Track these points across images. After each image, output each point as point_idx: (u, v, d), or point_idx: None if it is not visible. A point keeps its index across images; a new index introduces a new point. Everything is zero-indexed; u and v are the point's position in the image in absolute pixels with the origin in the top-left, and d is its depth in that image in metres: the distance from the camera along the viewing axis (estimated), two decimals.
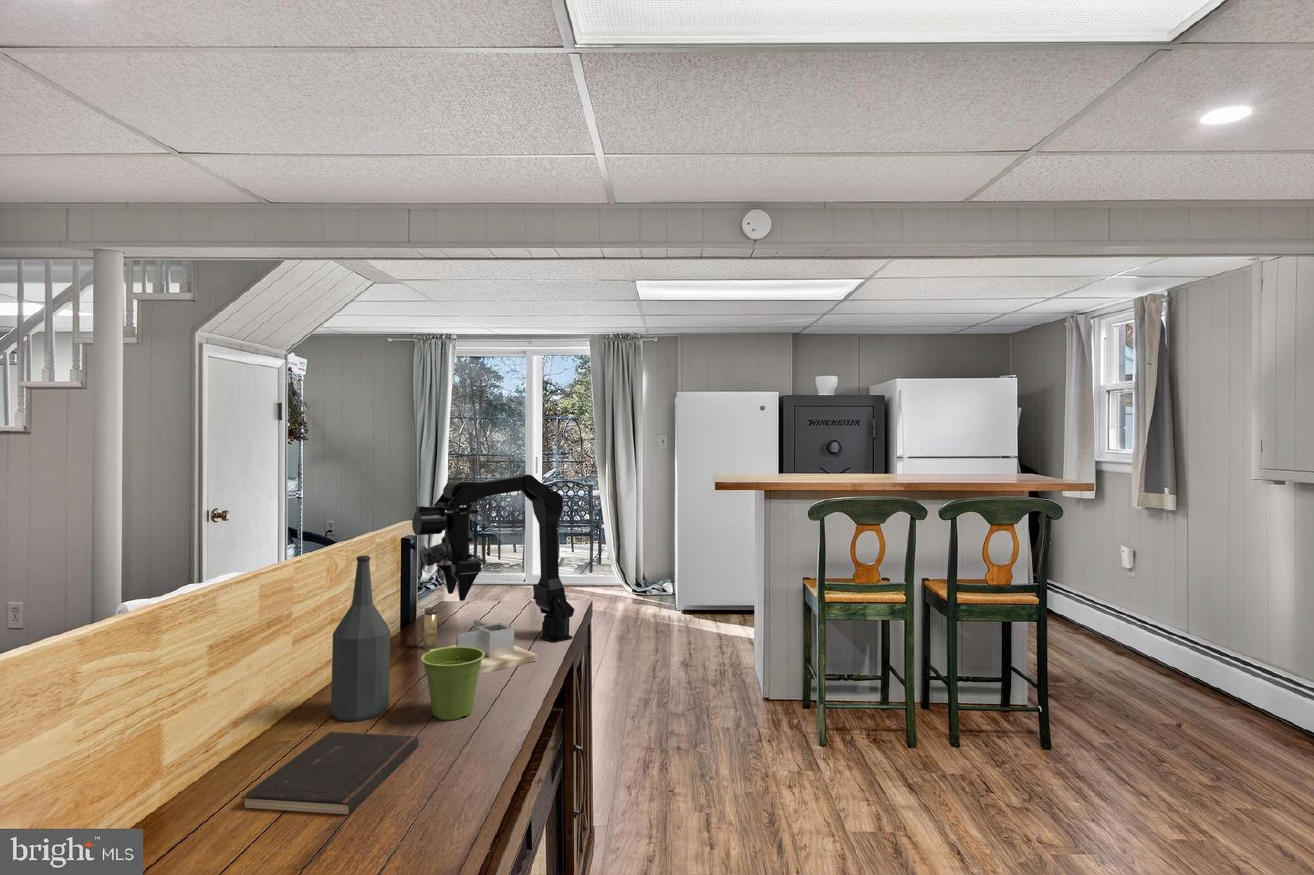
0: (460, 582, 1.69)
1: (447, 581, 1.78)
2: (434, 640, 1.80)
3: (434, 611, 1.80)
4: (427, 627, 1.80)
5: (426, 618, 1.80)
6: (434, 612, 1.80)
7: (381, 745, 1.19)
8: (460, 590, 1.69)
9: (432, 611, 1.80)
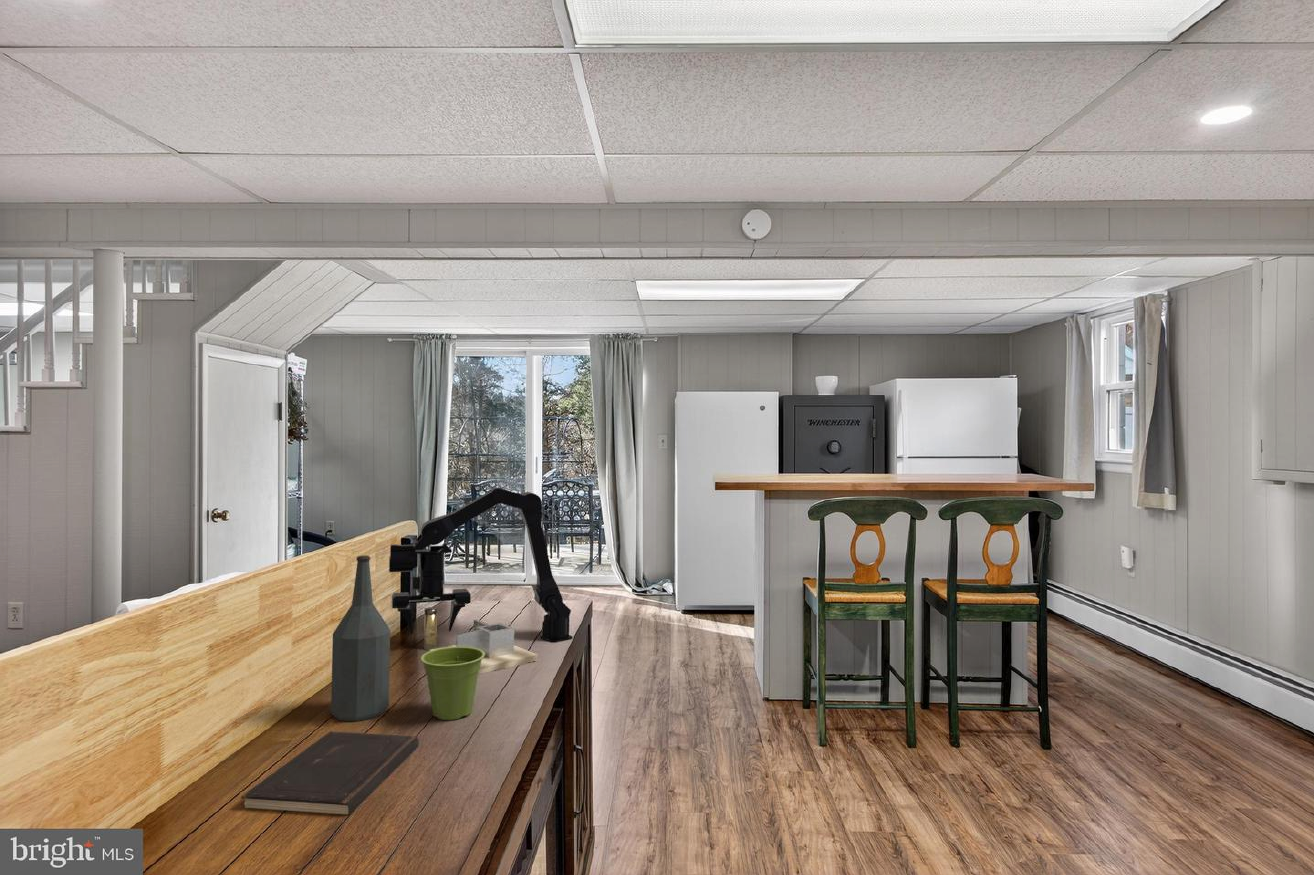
0: None
1: (449, 618, 1.84)
2: (434, 640, 1.80)
3: (434, 611, 1.80)
4: (427, 627, 1.80)
5: (426, 618, 1.80)
6: (434, 612, 1.80)
7: (381, 745, 1.19)
8: None
9: (432, 611, 1.80)
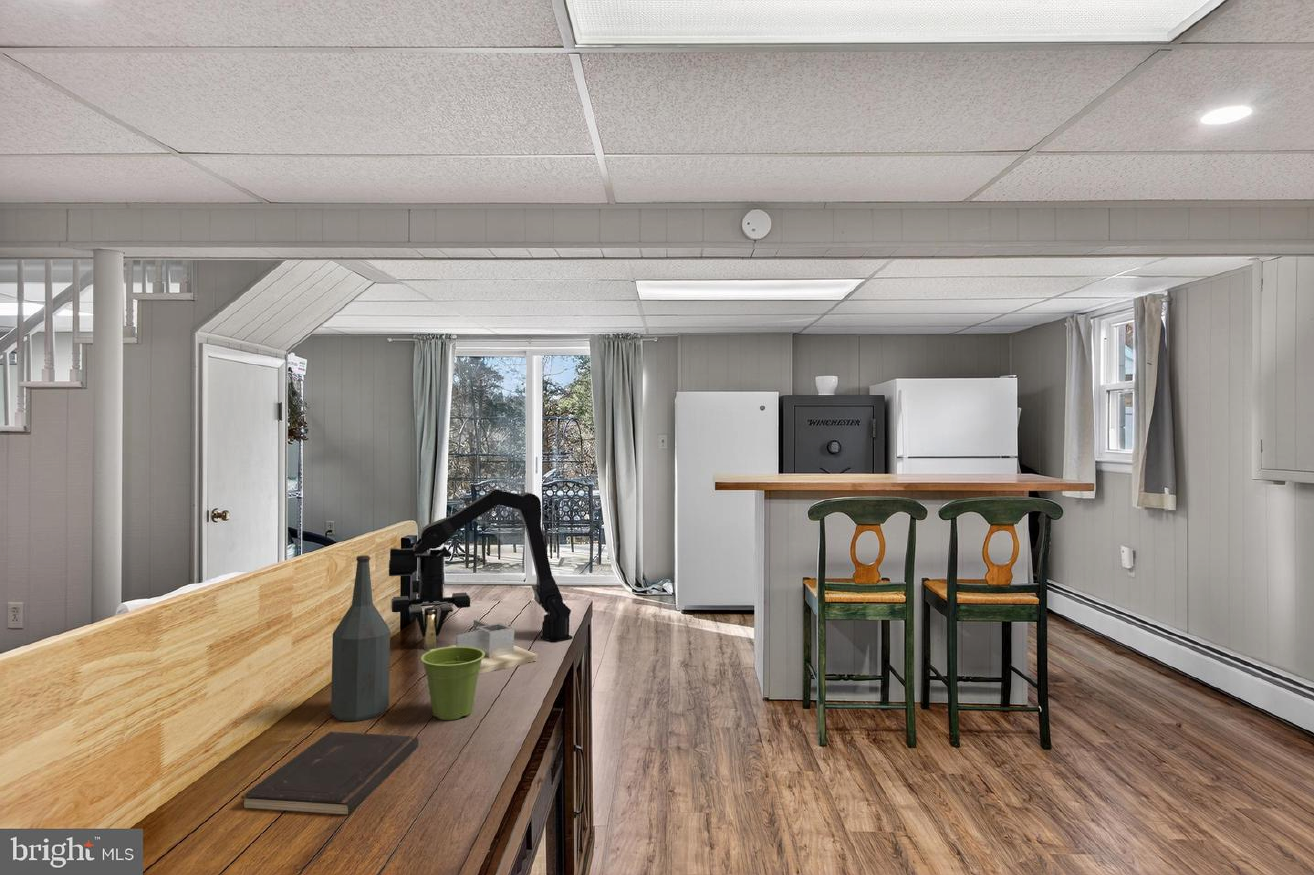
0: None
1: (437, 622, 1.82)
2: (434, 640, 1.80)
3: (434, 611, 1.80)
4: (427, 627, 1.80)
5: (426, 618, 1.80)
6: (434, 612, 1.80)
7: (381, 745, 1.19)
8: None
9: (432, 611, 1.80)
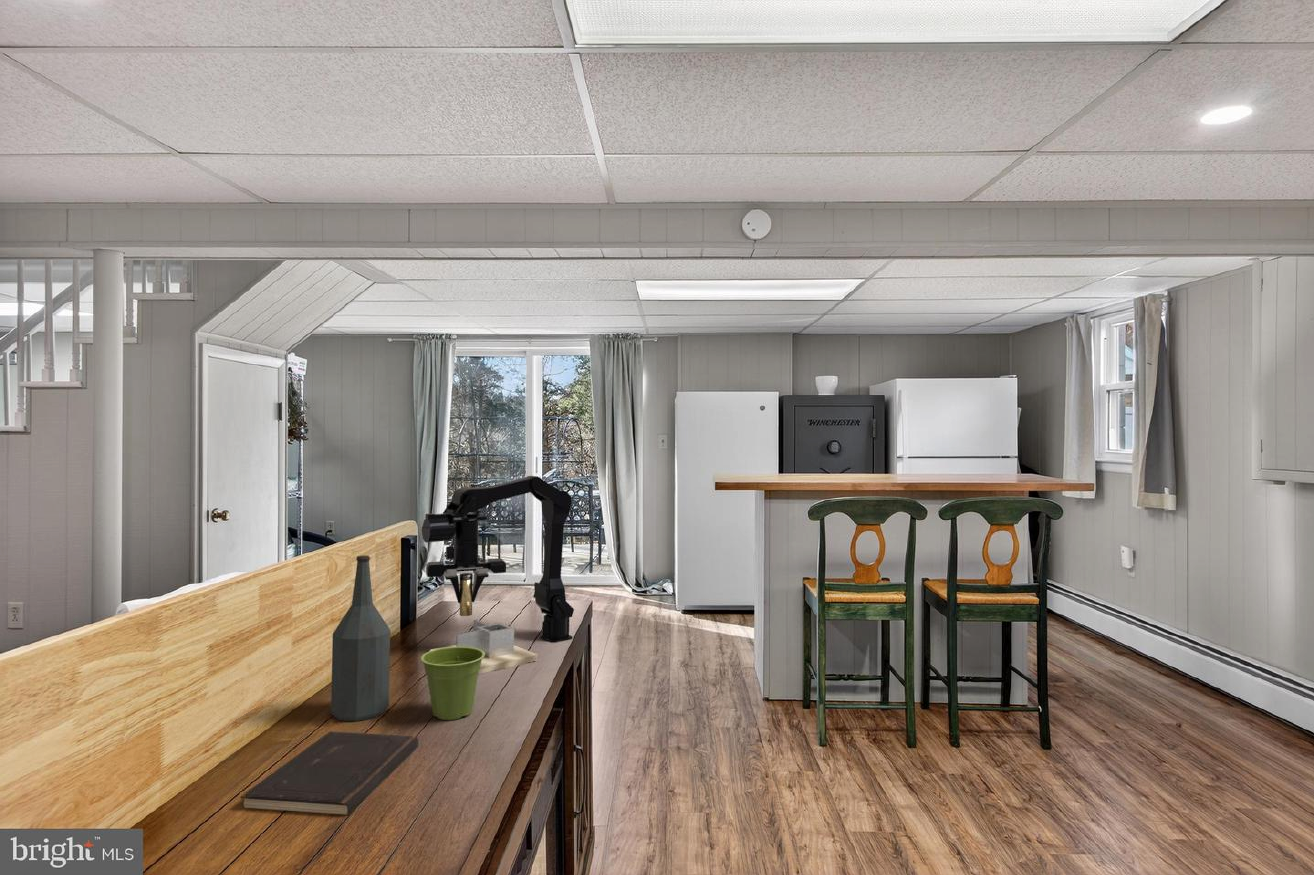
0: None
1: None
2: (470, 606, 1.76)
3: (469, 576, 1.76)
4: (462, 592, 1.76)
5: (461, 583, 1.76)
6: (470, 578, 1.76)
7: (381, 745, 1.19)
8: None
9: (467, 576, 1.76)
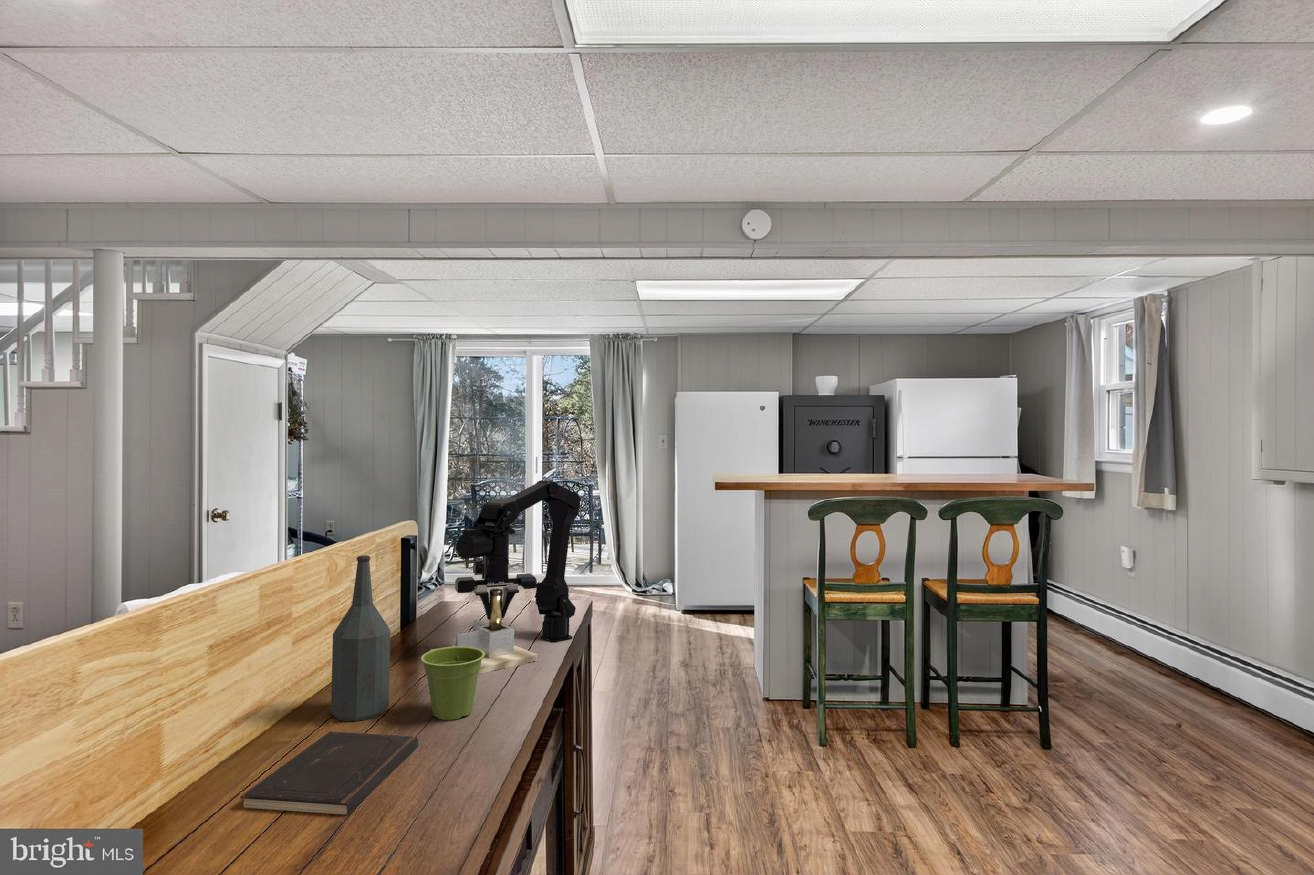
0: (481, 599, 1.73)
1: (502, 604, 1.75)
2: (500, 622, 1.73)
3: (500, 592, 1.72)
4: (492, 609, 1.72)
5: (492, 599, 1.72)
6: (500, 594, 1.72)
7: (381, 745, 1.19)
8: (484, 607, 1.73)
9: (498, 592, 1.72)
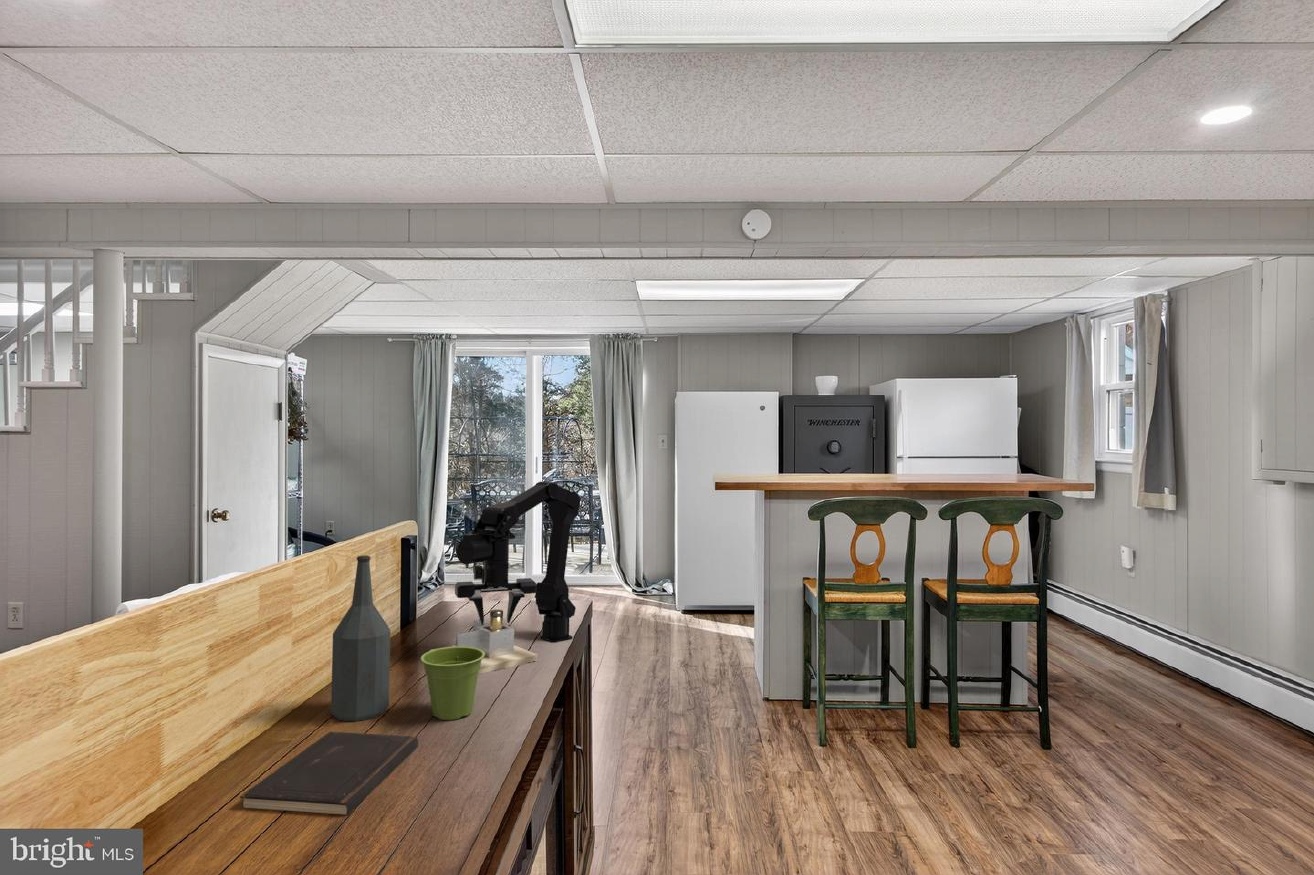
0: (475, 604, 1.72)
1: None
2: None
3: (500, 614, 1.72)
4: (493, 630, 1.72)
5: (492, 621, 1.72)
6: (500, 615, 1.72)
7: (381, 745, 1.19)
8: None
9: (498, 613, 1.72)
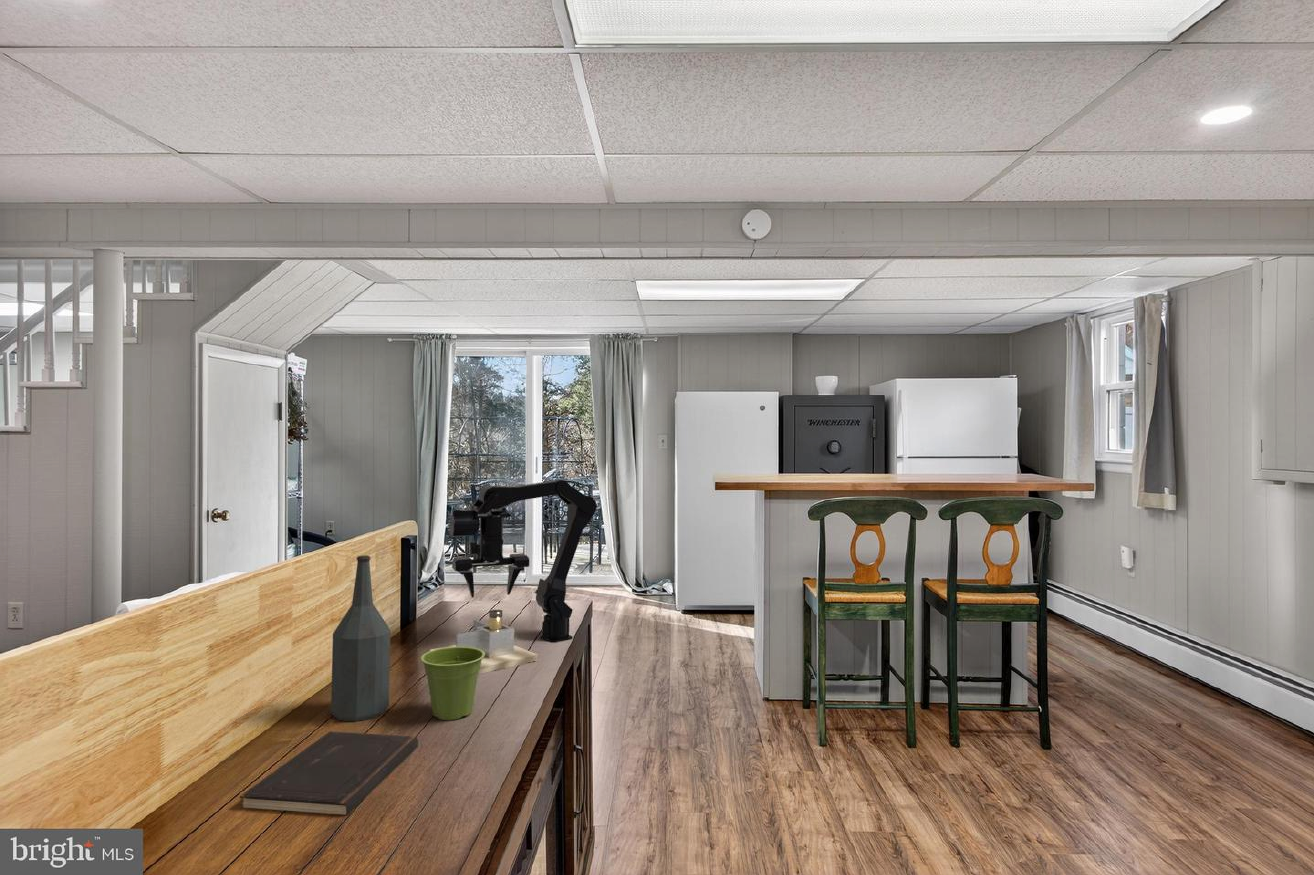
0: (465, 578, 1.82)
1: (508, 581, 1.87)
2: None
3: (499, 614, 1.72)
4: (492, 630, 1.72)
5: (491, 621, 1.72)
6: (500, 615, 1.72)
7: (381, 745, 1.19)
8: (468, 586, 1.82)
9: (497, 614, 1.72)
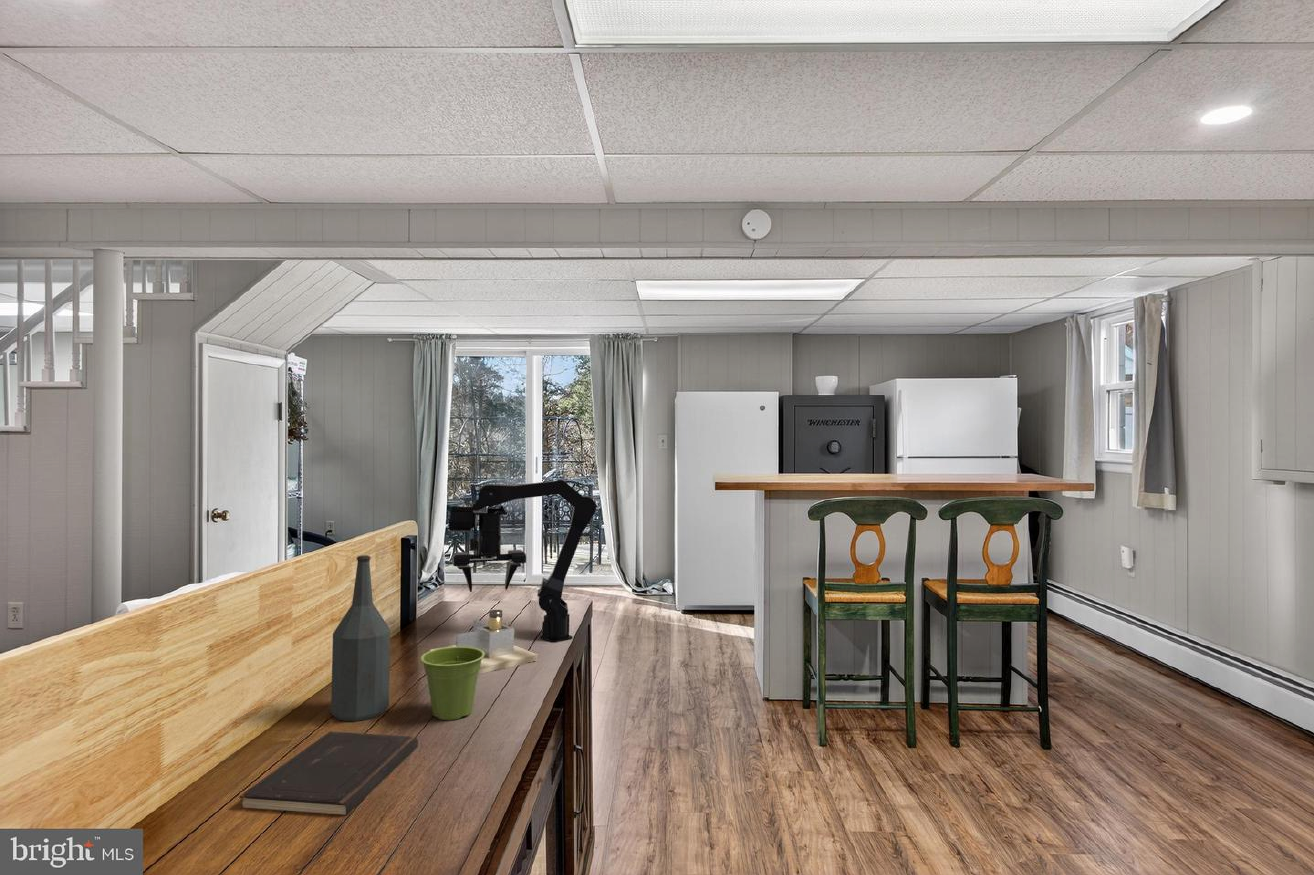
0: (464, 573, 1.88)
1: None
2: None
3: (499, 614, 1.72)
4: (492, 630, 1.72)
5: (491, 621, 1.72)
6: (500, 615, 1.72)
7: (380, 745, 1.19)
8: (467, 581, 1.88)
9: (497, 614, 1.72)
